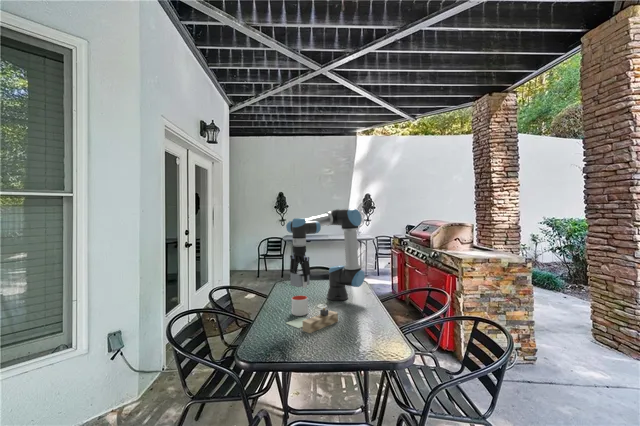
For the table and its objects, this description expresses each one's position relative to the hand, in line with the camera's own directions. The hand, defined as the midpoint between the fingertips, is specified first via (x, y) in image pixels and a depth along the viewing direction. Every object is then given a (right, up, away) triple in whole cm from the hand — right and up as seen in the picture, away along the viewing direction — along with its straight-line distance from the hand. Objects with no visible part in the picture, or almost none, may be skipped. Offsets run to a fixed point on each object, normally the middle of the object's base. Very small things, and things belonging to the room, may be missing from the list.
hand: (300, 286), depth 165 cm
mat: (0, -21, 0) cm, 21 cm away
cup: (-1, -21, +15) cm, 26 cm away
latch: (+14, -15, -2) cm, 21 cm away
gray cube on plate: (0, +1, 0) cm, 1 cm away
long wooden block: (+12, -21, -4) cm, 24 cm away
